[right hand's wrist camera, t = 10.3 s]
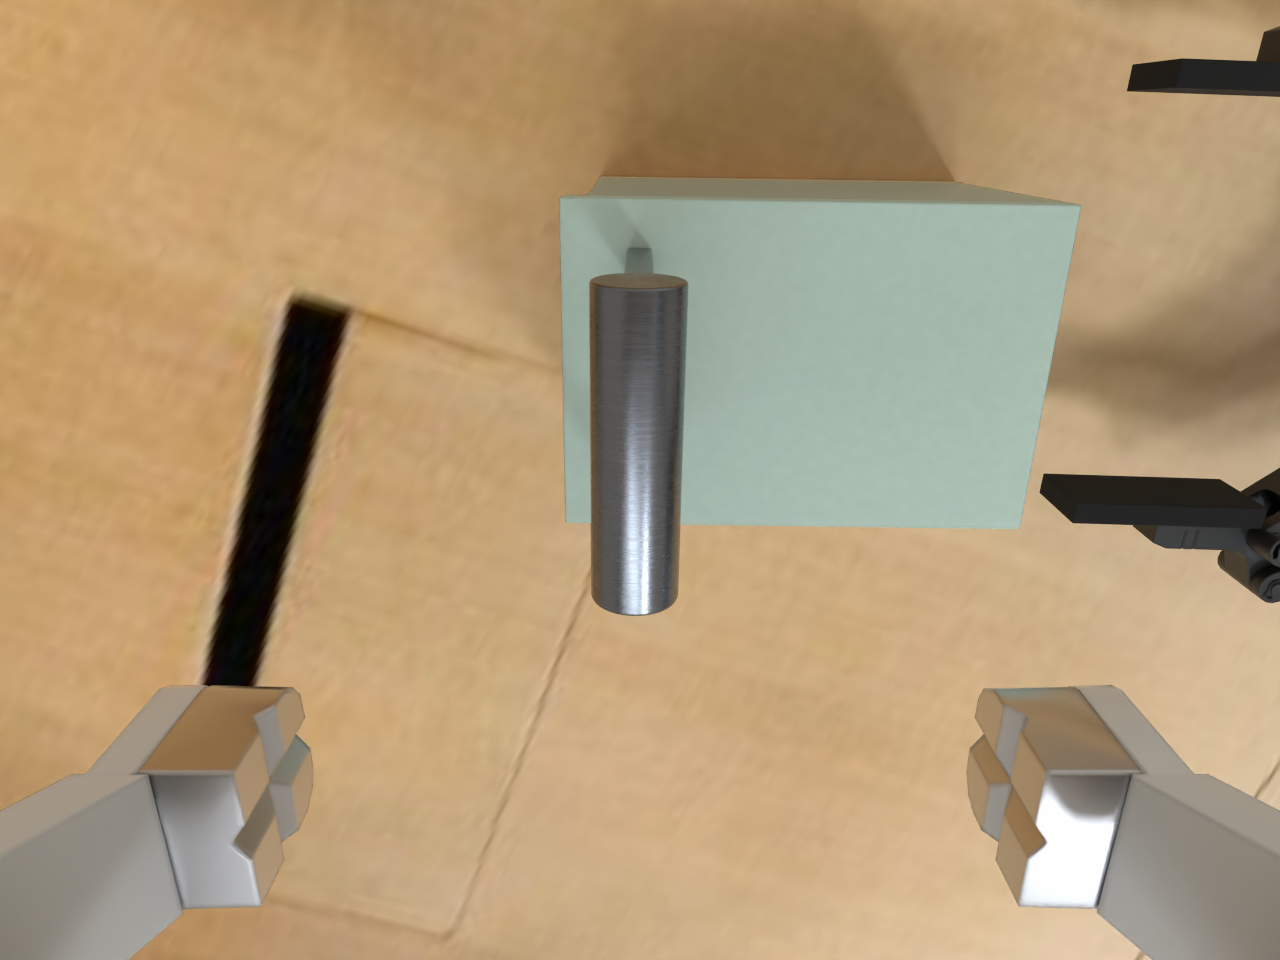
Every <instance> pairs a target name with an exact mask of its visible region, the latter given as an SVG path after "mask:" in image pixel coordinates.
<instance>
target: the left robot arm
mask: <svg viewBox="0 0 1280 960" xmlns="http://www.w3.org/2000/svg"><path fill="white" fill-rule="evenodd" d="M1127 91H1137V92H1164V93H1192V94H1219V95H1246V96H1274V97H1280V26H1279V27H1277V28H1274V29H1271V30H1268V31H1266V32H1264V34H1263V38H1262V42H1261V46H1260V49H1259V53H1258V57H1257V61H1233V60H1206V59H1175V60H1167V61H1159V62H1151V63H1142V64H1134V65H1133V66H1132V70H1131V75H1130V80H1129V84H1128V89H1127ZM1040 493H1041V494H1042V495H1043V496H1044V497H1045V498H1046V499H1047V500H1048V501H1049V502H1050V503H1051V504H1053V505H1054V506H1055V507H1056V508H1057V509H1058V510H1059V511H1060V512H1061V513H1062V514H1063V515H1065V516H1066V517H1067V518H1068V519H1069V520H1070V521H1071V522H1072V523H1088V524H1121V525H1133V527H1135V528H1136V529H1137V530H1138V531H1140V532H1141V533H1142V534H1143V535H1144V536H1146V537H1147V538H1148V539H1149V540H1151V541H1152V542H1153V543H1155V544H1157V545H1160V546H1162V547H1164V548H1175V549H1181V548H1183V549H1192V548H1193V549H1208V550H1222V551H1221V552H1220V554H1219V556H1218V565H1219V566H1220V568H1221V569H1223V570H1224V571H1225V572H1226V573H1228V574H1229V575H1230V576H1232V577H1233V578H1234V579H1235V580H1237V581H1238V582H1239V583H1241V584H1242V585H1243V586H1245V587H1246V588H1247V589H1249V590H1250V591H1251V592H1252V593H1254V594H1255V595H1257V596H1258V597H1259V598H1261V599H1262V600H1264V601H1265V602H1269V603H1274V602H1279V601H1280V468H1279V469H1277V470H1275V471H1274V472H1272V473H1271V474H1269V475H1267V476H1266V477H1264V478H1262V479H1261V480H1259V481H1257V482H1256V483H1254V484H1252V485H1251V486H1249V487H1248V488H1246V489H1244V490H1243V491H1241V492H1240V491H1238V490H1236V489H1235V488H1233V487H1232V486H1230V485H1228V484H1227V483H1225V482H1223V481H1222V480H1220V479H1197V478H1165V477H1133V476H1101V475H1069V474H1044V475H1043V479H1042V484H1041V489H1040Z"/></svg>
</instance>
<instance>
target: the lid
mask: <svg viewBox="0 0 1280 960" xmlns="http://www.w3.org/2000/svg"><path fill="white" fill-rule="evenodd" d="M1080 210H1081V206H1080V205H1078V204H1073V203H1067V202H1008V201H941V200H873V199H805V198H738V197H670V196H602V195H563V196H561V197H560V199H559V212H560V265H561V317H562V370H563V422H564V475H565V521H566V523H591V595H592V598H593V599H594V601H595V602H596V604H597V605H599V606H600V607H601V608H603V609H605V610H607V611H610V612H613V613H616V614H621V615H629V616H642V615H650V614H654V613H658V612H661V611H663V610H665V609H667V608H669V607H670V606H672V605H673V604H674V602H675V601H676V599H677V596H678V578H679V549H680V524H684V525H758V526H831V527H905V528H979V529H1019V528H1020V524H1021V519H1022V514H1023V508H1024V503H1025V498H1026V493H1027V487H1028V482H1029V477H1030V472H1031V466H1032V461H1033V456H1034V451H1035V446H1036V440H1037V435H1038V430H1039V425H1040V419H1041V414H1042V409H1043V404H1044V398H1045V393H1046V388H1047V383H1048V377H1049V372H1050V367H1051V362H1052V356H1053V351H1054V346H1055V341H1056V336H1057V330H1058V325H1059V320H1060V315H1061V309H1062V304H1063V299H1064V294H1065V288H1066V283H1067V278H1068V273H1069V267H1070V262H1071V257H1072V252H1073V246H1074V241H1075V236H1076V231H1077V226H1078V220H1079V215H1080Z"/></svg>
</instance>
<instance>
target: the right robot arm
mask: <svg viewBox="0 0 1280 960" xmlns="http://www.w3.org/2000/svg"><path fill="white" fill-rule="evenodd" d="M304 719H305V714H304V710H303V705H302V700H301V695H300V693H298V692H297V691H296V690H295V689H294V688H293V687H253V686H210V687H209V686H206V685H187V686H167V687H164V688H161V689H159V690H158V691H157V692H156V693H155V694H154V696H153V697H152V698H151V699H150V700H149V701H148V703H147V704H146V705H145V706H144V707H143V708H142V709H141V711H140V712H139V713H138V714H137V715H136V716H135V718H134V719H133V720H132V721H131V722H130V723H129V724H128V726H127V727H126V728H125V729H124V730H123V731H122V733H121V734H120V735H119V736H118V737H117V738H116V740H115V741H114V742H113V743H112V744H111V745H110V746H109V748H108V749H107V750H106V751H105V752H104V753H103V755H102V756H101V757H100V758H99V759H98V760H97V761H96V763H95V764H94V765H93V766H92V767H91V768H90V770H89V771H88V772H87V773H86V774H71V775H69V776H67V777H65V778H63V779H61V780H60V781H58V782H56V783H54V784H52V785H50V786H48V787H46V788H44V789H42V790H40V791H38V792H36V793H34V794H32V795H30V796H28V797H26V798H24V799H22V800H20V801H18V802H16V803H14V804H12V805H10V806H8V807H7V808H5V809H3V810H1V811H0V960H128V959H129V958H131V957H132V956H133V955H134V954H135V953H137V952H138V951H139V950H140V949H141V948H142V947H144V946H145V945H146V944H147V943H148V942H150V941H151V940H152V939H153V938H154V937H155V936H157V935H158V934H159V933H160V932H161V931H162V930H164V929H165V928H166V927H167V926H168V925H170V924H171V923H172V922H173V921H174V920H175V919H177V918H178V917H179V916H180V915H181V914H183V910H182V909H196V908H231V907H261V906H262V904H263V902H264V900H265V898H266V896H267V894H268V892H269V890H270V888H271V886H272V884H273V882H274V880H275V878H276V876H277V874H278V872H279V870H280V868H281V865H282V863H283V861H284V855H283V849H282V844H281V842H282V841H284V840H285V839H287V838H288V837H289V836H291V835H292V834H294V833H295V832H296V831H298V830H299V828H300V826H301V824H302V822H303V820H304V817H305V815H306V813H307V811H308V806H309V802H310V797H311V792H312V788H313V762H312V756H311V749H310V748H309V747H308V746H307V745H306V744H305V743H304V742H303V741H302V740H301V739H300V738H299V737H298V736H297V735H296V733H297V731H298V729H299V728H300V726H301V724H302V722H303V720H304ZM975 719H976V720H977V722H978V724H979V726H980V728H981V729H982V731H983V733H984V735H983V736H982V737H981V738H980V739H979V740H978V741H977V742H976V743H975V744H974V745H973V746H972V747H971V748H970V750H969V757H968V765H967V783H968V796H969V799H970V803H971V806H972V810H973V813H974V815H975V818H976V820H977V822H978V824H979V826H980V828H981V830H982V831H984V832H985V833H986V834H988V835H989V836H991V837H992V838H993V839H995V840H996V841H998V842H999V844H998V849H997V855H996V861H997V863H998V865H999V868H1000V870H1001V872H1002V874H1003V876H1004V878H1005V880H1006V882H1007V884H1008V886H1009V888H1010V890H1011V892H1012V894H1013V896H1014V898H1015V900H1016V902H1017V904H1018V906H1019V907H1048V908H1084V909H1097V913H1098V914H1099V915H1100V916H1101V917H1103V918H1104V919H1105V920H1106V921H1107V922H1108V923H1110V924H1111V925H1112V926H1113V927H1114V928H1116V929H1117V930H1118V931H1119V932H1120V933H1121V934H1123V935H1124V936H1125V937H1126V938H1127V939H1128V940H1130V941H1131V942H1132V943H1133V944H1134V945H1136V946H1137V947H1138V948H1139V949H1140V950H1141V951H1143V952H1144V953H1145V954H1146V955H1147V956H1149V957H1150V958H1151V959H1152V960H1280V811H1279V810H1277V809H1275V808H1273V807H1271V806H1269V805H1267V804H1265V803H1264V802H1262V801H1260V800H1258V799H1256V798H1254V797H1252V796H1250V795H1248V794H1246V793H1244V792H1242V791H1240V790H1238V789H1236V788H1234V787H1232V786H1230V785H1228V784H1226V783H1224V782H1222V781H1220V780H1218V779H1217V778H1215V777H1213V776H1211V775H1209V774H1194V773H1193V772H1192V771H1191V770H1190V768H1189V767H1188V766H1187V765H1186V764H1185V763H1184V762H1183V760H1182V759H1181V758H1180V757H1179V756H1178V755H1177V753H1176V752H1175V751H1174V750H1173V749H1172V748H1171V746H1170V745H1169V744H1168V743H1167V742H1166V741H1165V740H1164V738H1163V737H1162V736H1161V735H1160V734H1159V733H1158V731H1157V730H1156V729H1155V728H1154V727H1153V726H1152V725H1151V723H1150V722H1149V721H1148V720H1147V719H1146V718H1145V716H1144V715H1143V714H1142V713H1141V712H1140V711H1139V710H1138V708H1137V707H1136V706H1135V705H1134V704H1133V703H1132V701H1131V700H1130V699H1129V698H1128V697H1127V696H1126V694H1125V693H1124V692H1123V691H1122V690H1121V689H1119V688H1117V687H1114V686H1112V685H1092V686H1069V687H1049V688H984V689H983V691H982V693H981V695H980V697H979V699H978V703H977V709H976V714H975Z"/></svg>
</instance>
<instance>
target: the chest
mask: <svg viewBox="0 0 1280 960" xmlns="http://www.w3.org/2000/svg"><path fill="white" fill-rule="evenodd" d="M587 195H602V196H670V197H738V198H805V199H873V200H941V201H1008V202H1062V201H1056V200H1051V199H1045V198H1040V197H1034V196H1029V195H1023V194H1018V193H1012V192H1007V191H1001V190H996V189H990V188H985V187H979V186H974V185H969V184H963V183H961V182H956V181H891V180H824V179H756V178H689V177H621V176H600V177H599V180H598V182H597V183H596V184H595V185H594V187H593V188H592V189H591V191H590V192H589V193H588V194H587Z"/></svg>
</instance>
